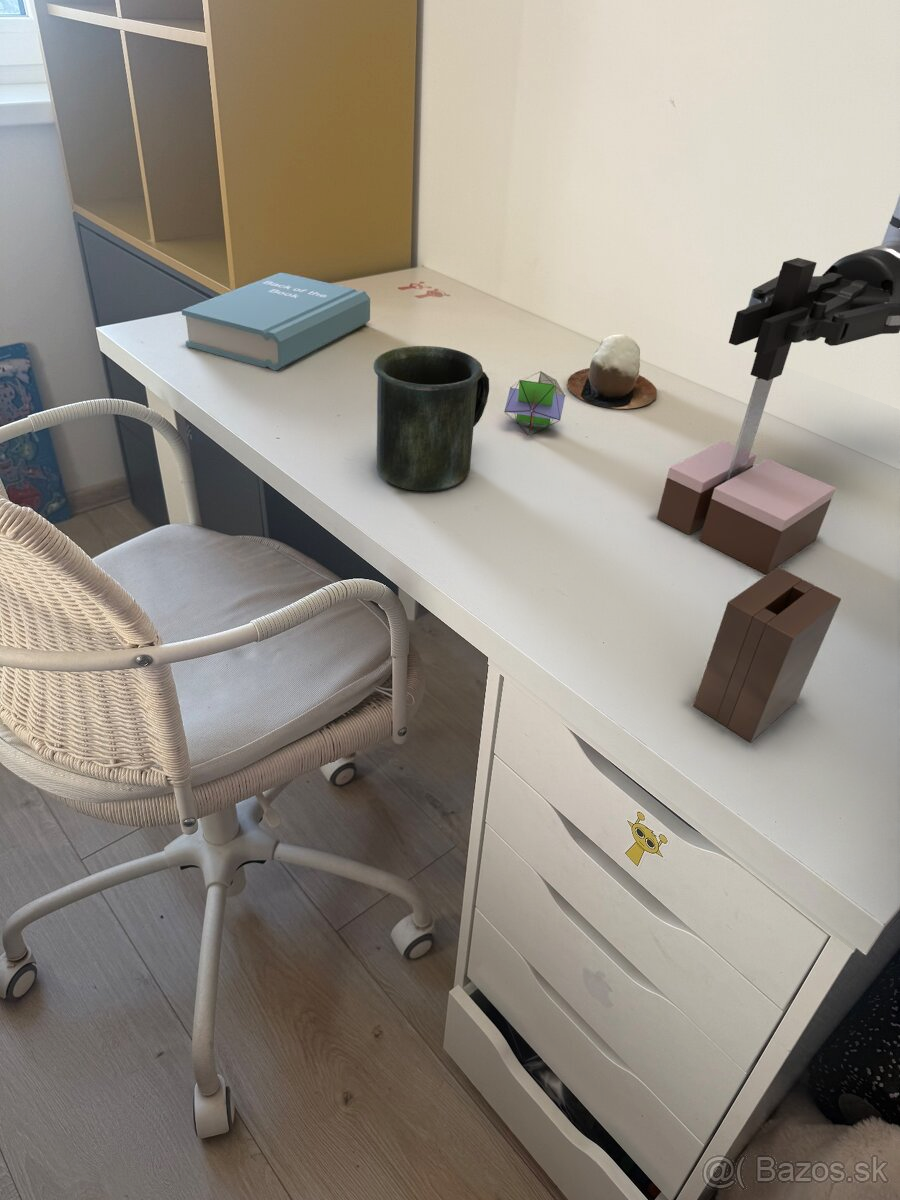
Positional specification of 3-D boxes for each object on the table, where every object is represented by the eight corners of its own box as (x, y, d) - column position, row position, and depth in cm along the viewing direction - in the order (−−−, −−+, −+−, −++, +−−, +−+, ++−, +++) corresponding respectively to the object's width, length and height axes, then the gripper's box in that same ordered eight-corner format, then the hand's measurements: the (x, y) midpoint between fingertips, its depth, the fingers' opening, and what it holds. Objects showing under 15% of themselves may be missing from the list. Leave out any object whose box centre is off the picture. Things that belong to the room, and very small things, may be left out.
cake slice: (740, 504, 89) (757, 454, 86) (688, 535, 83) (703, 482, 80) (709, 489, 91) (723, 440, 88) (656, 518, 86) (669, 466, 82)
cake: (816, 539, 84) (836, 487, 81) (766, 574, 79) (785, 520, 75) (750, 509, 88) (767, 458, 85) (699, 540, 83) (714, 487, 79)
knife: (744, 496, 85) (818, 262, 71) (728, 505, 83) (801, 267, 69) (728, 489, 86) (798, 257, 72) (713, 498, 84) (781, 261, 70)
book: (282, 304, 132) (281, 272, 129) (370, 325, 126) (370, 292, 123) (186, 346, 115) (181, 309, 112) (281, 372, 110) (279, 335, 107)
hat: (569, 358, 117) (628, 312, 112) (613, 414, 120) (673, 372, 114) (552, 386, 108) (616, 336, 102) (601, 446, 110) (665, 401, 105)
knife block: (797, 700, 65) (841, 598, 59) (750, 742, 61) (793, 638, 55) (740, 667, 67) (778, 566, 61) (692, 705, 63) (727, 602, 57)
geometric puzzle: (557, 434, 95) (570, 365, 95) (499, 425, 96) (511, 357, 96) (557, 447, 102) (568, 383, 102) (502, 438, 103) (513, 375, 103)
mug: (351, 467, 90) (350, 360, 83) (446, 431, 99) (452, 331, 92) (419, 507, 84) (425, 396, 77) (514, 465, 93) (526, 361, 86)
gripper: (929, 347, 82) (816, 404, 68) (791, 305, 90) (667, 349, 77) (962, 268, 77) (848, 313, 64) (814, 232, 86) (686, 265, 72)
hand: (749, 333), depth 70 cm, fingers closed on knife, 2 cm apart
